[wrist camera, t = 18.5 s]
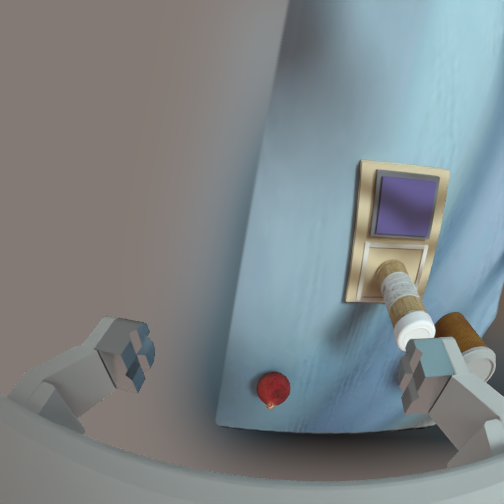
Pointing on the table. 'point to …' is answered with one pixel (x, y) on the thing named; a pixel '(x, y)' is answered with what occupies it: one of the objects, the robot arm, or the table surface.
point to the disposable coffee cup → (468, 344)
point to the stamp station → (395, 224)
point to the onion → (273, 389)
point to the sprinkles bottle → (403, 304)
